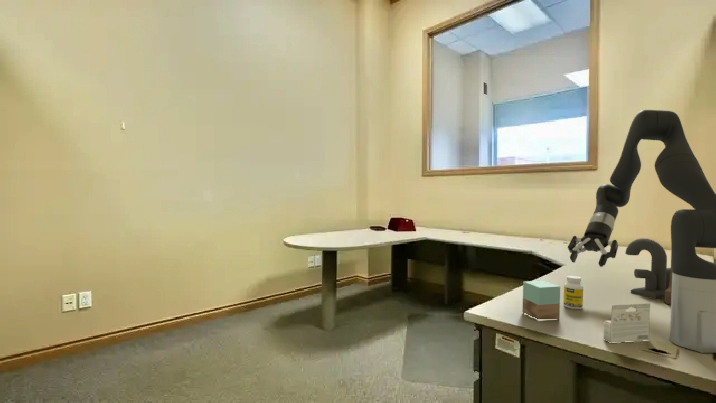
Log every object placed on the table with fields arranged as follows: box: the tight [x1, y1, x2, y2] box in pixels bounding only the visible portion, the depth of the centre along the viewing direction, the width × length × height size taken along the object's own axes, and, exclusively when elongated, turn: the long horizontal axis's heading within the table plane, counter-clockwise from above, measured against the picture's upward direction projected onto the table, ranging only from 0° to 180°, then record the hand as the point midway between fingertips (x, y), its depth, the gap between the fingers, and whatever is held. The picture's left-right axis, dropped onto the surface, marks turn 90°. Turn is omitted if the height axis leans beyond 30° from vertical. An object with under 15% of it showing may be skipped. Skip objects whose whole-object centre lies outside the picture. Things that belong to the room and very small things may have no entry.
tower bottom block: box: [521, 297, 561, 320], centre depth 109 cm, size 7×7×5 cm
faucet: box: [624, 237, 671, 300], centre depth 139 cm, size 18×16×20 cm
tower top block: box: [522, 280, 561, 305], centre depth 109 cm, size 7×7×5 cm
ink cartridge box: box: [603, 303, 651, 342], centre depth 92 cm, size 2×11×10 cm, turn 99°
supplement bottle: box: [563, 275, 584, 310], centre depth 119 cm, size 5×5×10 cm
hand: (586, 263), depth 125 cm, fingers open, 8 cm apart
